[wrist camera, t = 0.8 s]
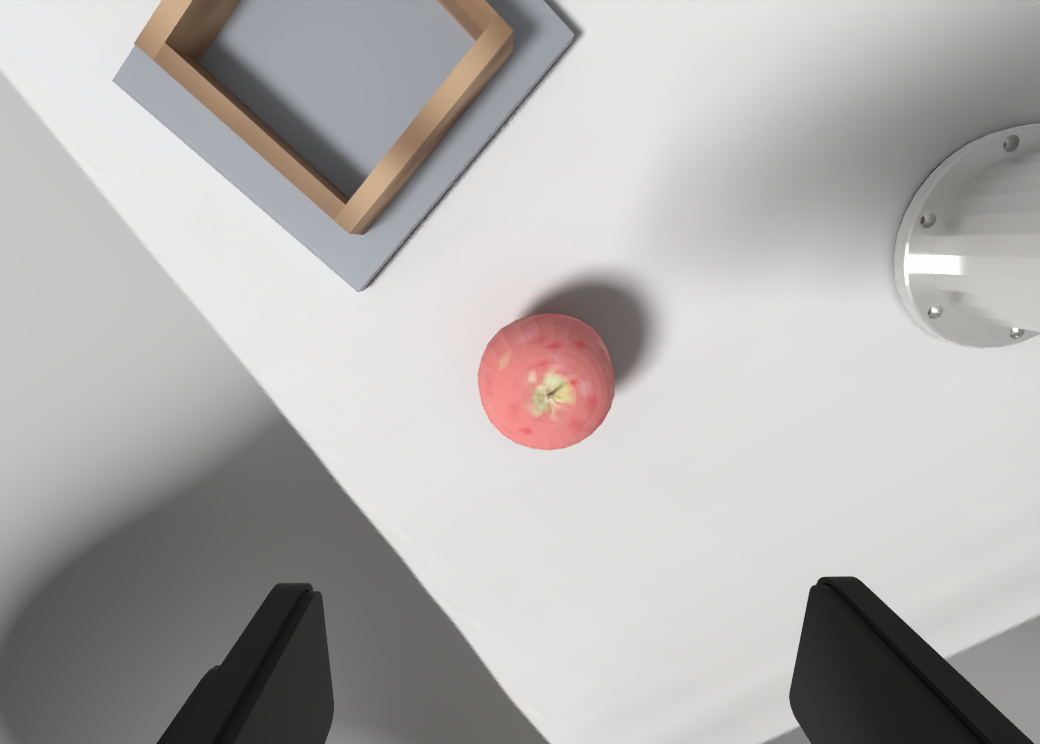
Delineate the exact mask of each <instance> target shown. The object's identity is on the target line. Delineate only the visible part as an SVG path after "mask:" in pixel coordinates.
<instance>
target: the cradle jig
mask: <svg viewBox="0 0 1040 744" xmlns="http://www.w3.org/2000/svg"><path fill="white" fill-rule="evenodd" d="M573 37H574V33H573V32H572V31H571V30H570V29H569V28H568V26H567V25H566V24H565V23H564V22H563V21H562V20H561V19H560V18H559V16H558V15H557V14H556V13H555V12H554V11H553V10H552V9H551V8H550V6H549V5H548V4H547V3H546V2H545V1H544V0H162V1H161V2H160V4H159V6H158V7H157V9H156V10H155V12H154V13H153V15H152V16H151V18H150V19H149V21H148V23H147V24H146V26H145V27H144V29H143V30H142V32H141V33H140V35H139V36H138V38H137V40H136V41H135V43H134V44H135V46H134V48H133V49H132V51H131V53H130V54H129V56H128V57H127V59H126V60H125V62H124V63H123V65H122V66H121V68H120V70H119V71H118V73H117V74H116V76H115V77H114V79H113V80H112V81H113V82H114V83H116V84H117V85H118V86H119V87H120V88H121V89H123V90H124V91H125V92H126V93H127V94H128V95H130V96H131V97H132V98H133V99H134V100H135V101H136V102H138V103H139V104H140V105H141V106H142V107H143V108H145V109H146V110H147V111H148V112H149V113H150V114H152V115H153V116H154V117H155V118H156V119H157V120H159V121H160V122H161V123H162V124H163V125H164V126H166V127H167V128H168V129H169V130H170V131H171V132H172V133H174V134H175V135H176V136H177V137H178V138H179V139H181V140H182V141H183V142H184V143H185V144H186V145H188V146H189V147H190V148H191V149H192V150H193V151H195V152H196V153H197V154H198V155H199V156H200V157H202V158H203V159H204V160H205V161H206V162H207V163H209V164H210V165H211V166H212V167H213V168H214V169H215V170H217V171H218V172H219V173H220V174H221V175H222V176H224V177H225V178H226V179H227V180H228V181H229V182H231V183H232V184H233V185H234V186H235V187H236V188H238V189H239V190H240V191H241V192H242V193H243V194H245V195H246V196H247V197H248V198H249V199H250V200H251V201H253V202H254V203H255V204H256V205H257V206H258V207H260V208H261V209H262V210H263V211H264V212H265V213H267V214H268V215H269V216H270V217H271V218H272V219H274V220H275V221H276V222H277V223H278V224H279V225H281V226H282V227H283V228H284V229H285V230H286V231H288V232H289V233H290V234H291V235H292V236H293V237H294V238H296V239H297V240H298V241H299V242H300V243H301V244H303V245H304V246H305V247H306V248H307V249H308V250H310V251H311V252H312V253H313V254H314V255H315V256H317V257H318V258H319V259H320V260H321V261H322V262H324V263H325V264H326V265H327V266H328V267H329V268H331V269H332V270H333V271H334V272H335V273H336V274H337V275H339V276H340V277H341V278H342V279H343V280H344V281H346V282H347V283H348V284H349V285H350V286H351V287H353V288H354V289H355V290H356V291H357V292H360V291H363V290H364V289H365V288H366V286H367V285H368V284H369V283H370V282H371V280H372V279H373V278H374V277H375V276H376V275H377V273H378V272H379V271H380V270H381V269H382V267H383V266H384V265H385V264H386V263H387V261H388V260H389V259H390V258H391V257H392V256H393V254H394V253H395V252H396V251H397V250H398V248H399V247H400V246H401V245H402V244H403V242H404V241H405V240H406V239H407V238H408V236H409V235H410V234H411V233H412V232H413V231H414V229H415V228H416V227H417V226H418V225H419V223H420V222H421V221H422V220H423V219H424V217H425V216H426V215H427V214H428V213H429V211H430V210H431V209H432V208H433V207H434V206H435V204H436V203H437V202H438V201H439V200H440V198H441V197H442V196H443V195H444V194H445V192H446V191H447V190H448V189H449V188H450V187H451V185H452V184H453V183H454V182H455V181H456V179H457V178H458V177H459V176H460V175H461V173H462V172H463V171H464V170H465V169H466V167H467V166H468V165H469V164H470V163H471V162H472V160H473V159H474V158H475V157H476V156H477V154H478V153H479V152H480V151H481V150H482V148H483V147H484V146H485V145H486V144H487V142H488V141H489V140H490V139H491V138H492V137H493V135H494V134H495V133H496V132H497V131H498V129H499V128H500V127H501V126H502V125H503V123H504V122H505V121H506V120H507V119H508V118H509V116H510V115H511V114H512V113H513V112H514V110H515V109H516V108H517V107H518V106H519V104H520V103H521V102H522V101H523V100H524V98H525V97H526V96H527V95H528V94H529V93H530V91H531V90H532V89H533V88H534V87H535V85H536V84H537V83H538V82H539V81H540V79H541V78H542V77H543V76H544V75H545V73H546V72H547V71H548V70H549V69H550V68H551V66H552V65H553V64H554V63H555V62H556V60H557V59H558V58H559V57H560V56H561V54H562V53H563V52H564V51H565V50H566V49H567V47H568V46H569V45H570V44H571V43H572V40H573Z"/></svg>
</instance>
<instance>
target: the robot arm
mask: <svg viewBox="0 0 1040 744" xmlns="http://www.w3.org/2000/svg"><path fill="white" fill-rule="evenodd" d="M894 278H895V283H896V288H897V293H898V295H899V297H900V300H901V302H902V304H903V306H904V309H905V310H906V311H907V313H908V314H909V315H910V317H911V318H912V319H913V321H914V322H915V323H916V324H917V325H919V326H920V327H921V328H922V329H923V330H925V331H926V332H927V333H928V334H930V335H932V336H934V337H937V338H939V339H941V340H943V341H946V342H950V343H954V344H958V345H962V346H967V347H975V348H996V347H1004V346H1009V345H1013V344H1017V343H1021V342H1023V341H1025V340H1028V339H1030V338H1033V337H1035V336H1037V335H1040V123H1036V124H1030V125H1023V126H1017V127H1013V128H1009V129H1005V130H1001V131H998V132H994V133H990V134H988V135H985V136H983V137H981V138H979V139H977V140H975V141H973V142H970V143H968V144H967V145H965V146H964V147H962V148H961V149H960V150H958V151H957V152H955V153H954V154H952V155H951V156H949V157H948V158H947V159H946V160H945V161H944V162H943V163H942V164H941V165H940V166H939V167H937V168H936V169H935V170H934V171H933V172H932V173H931V174H930V176H929V177H928V178H927V179H926V181H925V182H924V183H923V185H922V186H921V187H920V188H919V190H918V191H917V192H916V194H915V196H914V198H913V199H912V201H911V203H910V205H909V207H908V208H907V210H906V212H905V214H904V217H903V220H902V223H901V225H900V228H899V231H898V234H897V239H896V244H895V250H894ZM789 698H790V705H791V709H792V711H793V714H794V716H795V718H796V720H797V721H798V723H799V724H800V726H801V728H802V729H803V731H804V732H805V734H806V736H807V737H808V739H809V741H810V742H811V744H1034V743H1033V742H1032V741H1031V740H1030V739H1029V738H1028V737H1027V736H1025V735H1024V734H1023V733H1022V732H1021V731H1020V730H1019V729H1018V728H1017V727H1016V726H1015V725H1014V724H1013V723H1012V722H1011V721H1010V720H1008V719H1007V718H1006V717H1005V716H1004V715H1003V714H1002V713H1001V712H1000V711H999V710H998V709H997V708H996V707H995V706H994V705H992V704H991V703H990V702H989V701H988V700H987V699H986V698H985V697H984V696H983V695H982V694H981V693H980V692H979V691H978V690H976V689H975V688H974V687H973V686H972V685H971V684H970V683H969V682H968V681H967V680H966V679H965V678H964V677H963V676H962V675H960V674H959V673H958V672H957V671H956V670H955V669H954V668H953V667H952V666H951V665H950V664H949V663H948V662H947V661H946V660H945V659H943V658H942V657H941V656H940V655H939V654H938V653H937V652H936V651H935V650H934V649H933V648H932V647H931V646H930V645H929V644H927V643H926V642H925V641H924V640H923V639H922V638H921V637H920V636H919V635H918V634H917V633H916V632H915V631H914V630H913V629H911V628H910V627H909V626H908V625H907V624H906V623H905V622H904V621H903V620H902V619H901V618H900V617H899V616H898V615H897V614H896V613H894V612H893V611H892V610H891V609H890V608H889V607H888V606H887V605H886V604H885V603H884V602H883V601H882V600H881V599H880V598H878V597H877V596H876V595H875V594H874V593H873V592H872V591H871V590H870V589H869V588H868V587H867V586H866V585H865V584H864V583H862V582H861V581H860V580H859V579H857V578H855V577H822V578H820V579H819V580H818V582H817V584H816V585H814V586H812V587H811V589H810V592H809V597H808V602H807V607H806V612H805V617H804V622H803V627H802V632H801V637H800V643H799V648H798V653H797V658H796V663H795V668H794V673H793V678H792V683H791V688H790V695H789ZM333 713H334V699H333V690H332V681H331V673H330V663H329V654H328V646H327V637H326V627H325V618H324V609H323V601H322V595H321V593H320V592H319V591H317V592H315V591H313V588H312V586H311V584H309V583H279V584H277V585H275V586H274V588H273V589H272V590H271V592H270V593H269V595H268V596H267V597H266V599H265V601H264V602H263V603H262V605H261V606H260V608H259V609H258V611H257V612H256V614H255V615H254V617H253V618H252V620H251V621H250V623H249V624H248V626H247V627H246V629H245V630H244V632H243V633H242V634H241V636H240V637H239V639H238V640H237V642H236V644H235V645H234V646H233V648H232V649H231V651H230V652H229V654H228V655H227V657H226V658H225V660H224V661H223V663H222V664H221V665H219V666H215V667H213V668H212V669H210V670H209V671H208V672H207V673H206V675H205V676H204V677H203V678H202V679H201V681H200V682H199V684H198V685H197V687H196V688H195V689H194V691H193V692H192V694H191V695H190V696H189V698H188V699H187V701H186V703H185V704H184V705H183V706H182V708H181V709H180V711H179V712H178V714H177V715H176V717H175V718H174V719H173V721H172V722H171V724H170V725H169V727H168V728H167V730H166V731H165V732H164V734H163V735H162V737H161V738H160V740H159V741H158V742H157V744H325V741H326V738H327V735H328V733H329V730H330V727H331V723H332V719H333Z"/></svg>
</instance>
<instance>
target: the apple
mask: <svg viewBox="0 0 1040 744" xmlns="http://www.w3.org/2000/svg"><path fill="white" fill-rule="evenodd" d="M614 380H615V379H614V373H613V367H612V361H611V358H610V355H609V352H608V350H607V347H606V344H605V343H604V342H603V340H602V339H601V337H600V336H599V335H598V333H597V332H596V331H595V329H594V328H592V327H591V326H589V325H588V324H586V323H585V322H583V321H581V320H580V319H577V318H574V317H571V316H567V315H564V314H551V313H545V314H538V315H531V316H528V317H525V318H522V319H519V320H516V321H514V322H512V323H511V324H509V325H507V326H505V327H504V328H502V329H500V330H499V331H498V333H497V334H496V335H495V336H494V337H493V338H492V340H491V341H490V342H489V343H488V345H487V347H486V349H485V352H484V354H483V356H482V359H481V363H480V367H479V371H478V384H479V392H480V397H481V401H482V405H483V407H484V409H485V411H486V414H487V416H488V418H489V420H490V421H491V423H492V424H493V425H494V426H495V427H496V428H497V429H498V430H499V431H500V432H501V434H502V435H504V436H506V437H507V438H509V439H510V440H512V441H514V442H515V443H517V444H520V445H523V446H526V447H530V448H533V449H542V450H554V449H562V448H566V447H569V446H571V445H574V444H576V443H579V442H580V441H582V440H583V439H585V438H586V437H588V436H589V435H591V434H592V433H593V432H594V431H595V430H596V429H597V428H598V427H599V426H600V425H601V424H602V422H603V421H604V419H605V417H606V415H607V414H608V412H609V410H610V408H611V404H612V400H613V397H614Z"/></svg>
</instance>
